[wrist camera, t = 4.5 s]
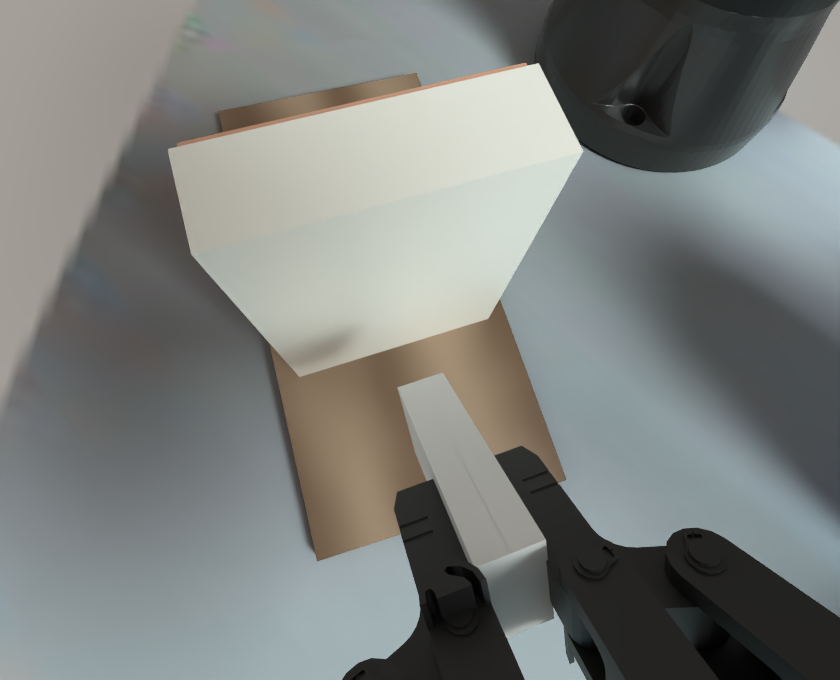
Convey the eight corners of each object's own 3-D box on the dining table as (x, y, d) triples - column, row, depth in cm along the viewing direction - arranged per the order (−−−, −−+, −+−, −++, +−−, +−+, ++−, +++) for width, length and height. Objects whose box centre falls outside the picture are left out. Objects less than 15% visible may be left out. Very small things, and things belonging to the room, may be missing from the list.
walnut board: (415, 83, 30) (416, 72, 29) (560, 480, 23) (566, 479, 23) (222, 121, 28) (218, 111, 28) (320, 558, 22) (317, 561, 21)
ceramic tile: (488, 318, 25) (583, 151, 12) (299, 377, 23) (191, 254, 11) (466, 263, 26) (534, 54, 13) (282, 316, 24) (165, 139, 12)
